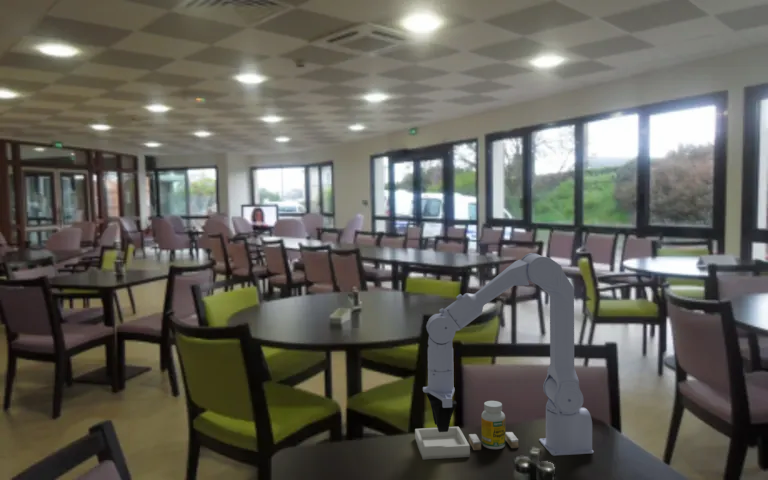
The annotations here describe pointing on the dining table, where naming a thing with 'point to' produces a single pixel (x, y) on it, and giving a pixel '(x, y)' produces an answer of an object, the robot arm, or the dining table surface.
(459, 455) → the tray
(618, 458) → the dining table surface
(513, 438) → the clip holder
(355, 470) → the dining table surface
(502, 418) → the supplement bottle
